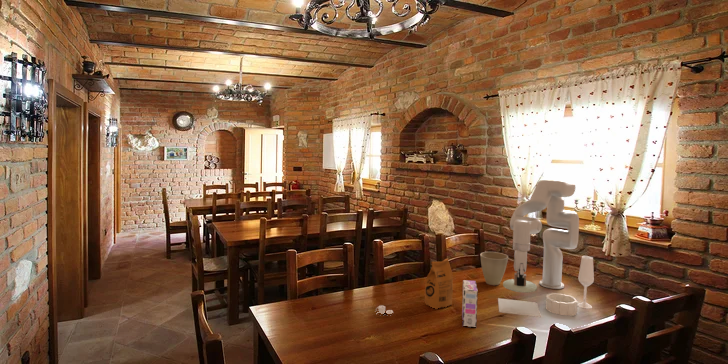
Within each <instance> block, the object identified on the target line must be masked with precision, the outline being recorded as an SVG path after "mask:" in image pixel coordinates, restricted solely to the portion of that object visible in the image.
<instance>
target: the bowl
mask: <svg viewBox="0 0 728 364" xmlns="http://www.w3.org/2000/svg"><path fill="white" fill-rule="evenodd" d="M578 303H579V302H578V299H577V298H575V297H574V296H572V295H569V294H565V293H555V292H554V293H548V294H546V295H545V309H546V310H547V311H549V312H550V313H553V314H556V315H562V316H571V317H574V316H576V315H578V306H577V304H578Z"/></svg>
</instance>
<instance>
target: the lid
mask: <svg viewBox="0 0 728 364" xmlns="http://www.w3.org/2000/svg"><path fill="white" fill-rule="evenodd" d="M517 277H518V273H517V272H514V279H513V278H511V279H506V280H504V281H503V283H502V286H503V288H505V289H506V290H509V291H512V292H517V293H534V292H537V289H538V285H537V284H536V283H534V282H532V281H529V280H527V274H526V273H524V286H517Z"/></svg>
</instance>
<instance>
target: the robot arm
mask: <svg viewBox="0 0 728 364" xmlns="http://www.w3.org/2000/svg"><path fill="white" fill-rule="evenodd" d="M575 192H576V183H575V182H574V181H573V180H571V179H561V178H559V179H558V178H543V179H540V180H539V181H538V182H537V184H536V185H535V188H534V190H533V192H532V194H531V196H530V199H528V200H526V201H524V202H523V203H521V204H520V205H518V206H517V207H516V208H515V209H514V211H513V212H512V213H513V214H512V215H511V218H510V221H509V227H510V229H511V230H512V231H513V232H512V249H513V250H514V259H513V268H514V271H515V272H516V273H518V277H517V286H524V274H525V273H526V271H527V265H528V264H527V263H528V262H527V261H528V252H529V251H530V250H531V235H536V234H538V233H540V232H541V230H542V229H543V223H542V221H541V220H540V219H539V218H535V217H531V216H530V217H528V216H526V215H529V214H532V213H537V212H542V211H543V210H545V209H546V224H547V225H548V226H551V227H554V228H547V229H545V230H544V231H543V233H542V241H543V263H542V279H541V280H539V282H538V283H539V285H540V286H541V287H544V288H547V289H554V290H562V289H563V288H565V284H564V283H563V282H562V275H563V274H562V272H563V258H564V257H563V252H562V250H561V249H566V250H567V249H568V250H575V249H577V247H578V244H579V236H580V235H579V230H580V217H579V214H578V212H576V211H573V210H566V209H565V199H564V198H569V197H573V196H574V194H575ZM559 228H562V229H559ZM564 229H567V230H564ZM560 248H561V249H560Z"/></svg>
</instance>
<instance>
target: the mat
mask: <svg viewBox="0 0 728 364" xmlns="http://www.w3.org/2000/svg"><path fill="white" fill-rule="evenodd" d="M497 303H498V313H503V314H510V315H520V316H530V317H536V318H537V317H539V318H541V317H542V316H541V315H542V314H541V312H540V309H539V305H538V303H537V302H535V301H526V300H516V299H509V298H499V297H498V298H497Z"/></svg>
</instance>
